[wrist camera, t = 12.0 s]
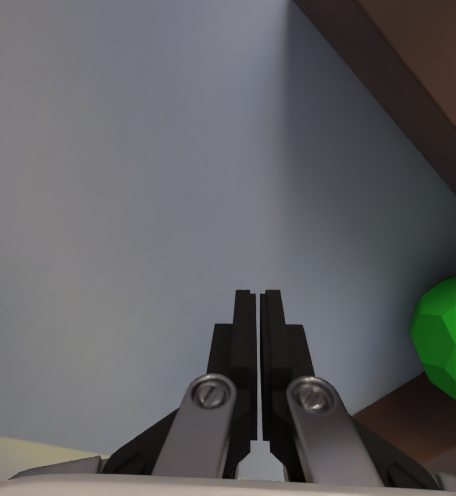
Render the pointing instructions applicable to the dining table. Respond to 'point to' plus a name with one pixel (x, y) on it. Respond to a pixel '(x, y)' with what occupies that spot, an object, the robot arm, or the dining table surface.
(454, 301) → the polyhedron
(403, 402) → the corner stop
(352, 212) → the dining table surface
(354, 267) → the dining table surface
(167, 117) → the dining table surface
